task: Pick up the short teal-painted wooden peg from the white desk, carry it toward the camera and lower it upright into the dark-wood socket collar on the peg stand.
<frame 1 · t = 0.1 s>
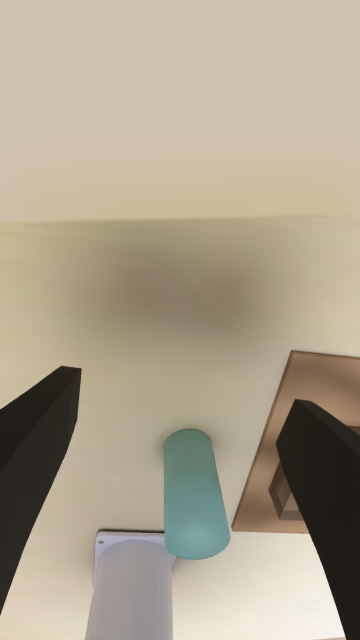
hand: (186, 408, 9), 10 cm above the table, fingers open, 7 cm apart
peg stand: (322, 456, 25), on the table
teal peg: (187, 447, 24), on the table
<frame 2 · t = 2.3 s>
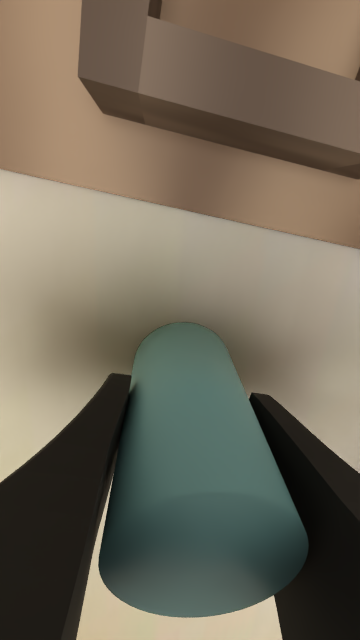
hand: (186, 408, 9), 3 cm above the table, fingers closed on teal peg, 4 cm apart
teal peg: (182, 366, 12), on the table, touching gripper
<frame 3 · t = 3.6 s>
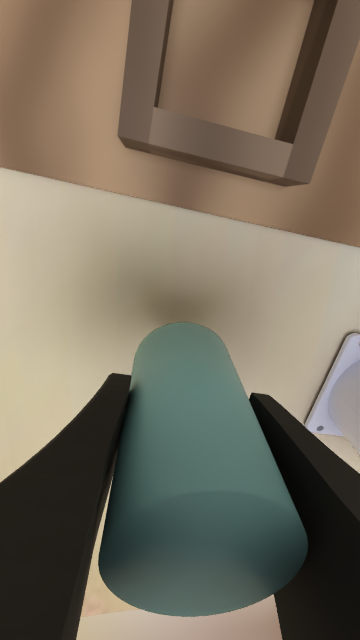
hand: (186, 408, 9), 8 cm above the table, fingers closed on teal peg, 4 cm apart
peg stand: (228, 69, 13), on the table
teal peg: (181, 365, 12), point 6 cm above the table, touching gripper
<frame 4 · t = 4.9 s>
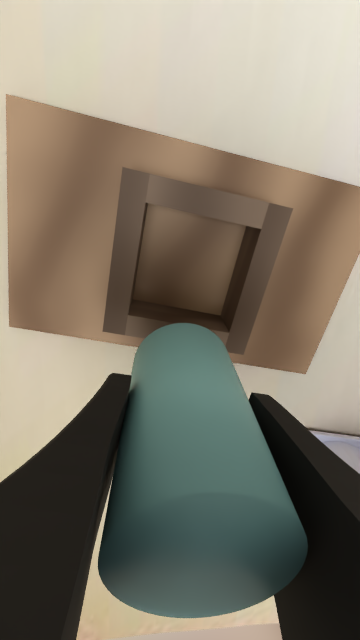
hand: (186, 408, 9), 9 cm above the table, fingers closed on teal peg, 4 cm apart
peg stand: (186, 262, 17), on the table
teal peg: (181, 366, 12), point 7 cm above the table, touching gripper
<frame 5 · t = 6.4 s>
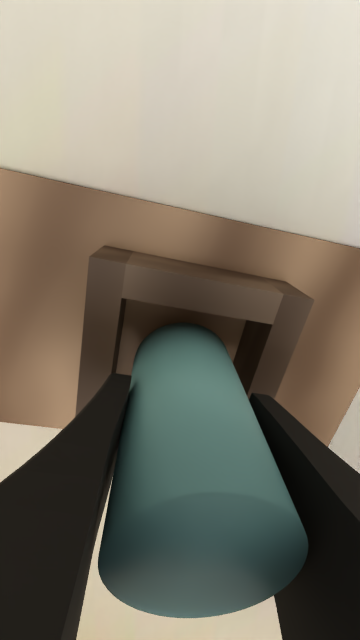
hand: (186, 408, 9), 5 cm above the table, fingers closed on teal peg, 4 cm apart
peg stand: (179, 341, 14), on the table
teal peg: (181, 366, 12), point 2 cm above the table, touching gripper
when the fingers open (4 cm above the table, at t = 7.5 s): teal peg stays where it is, resting on peg stand.
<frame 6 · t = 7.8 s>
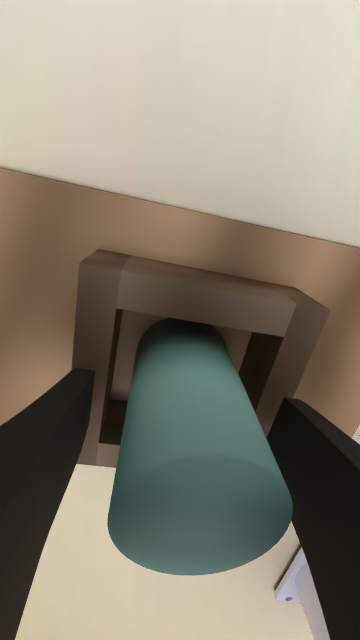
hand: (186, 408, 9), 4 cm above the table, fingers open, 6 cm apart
peg stand: (180, 352, 13), on the table
teal peg: (181, 357, 13), resting on peg stand
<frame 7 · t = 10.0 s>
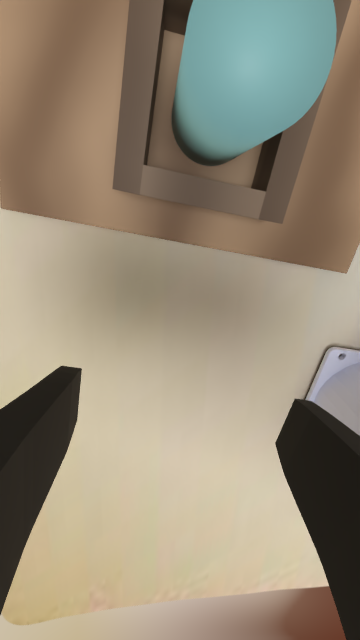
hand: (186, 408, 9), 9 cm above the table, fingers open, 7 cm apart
peg stand: (210, 121, 14), on the table
teal peg: (212, 119, 14), resting on peg stand
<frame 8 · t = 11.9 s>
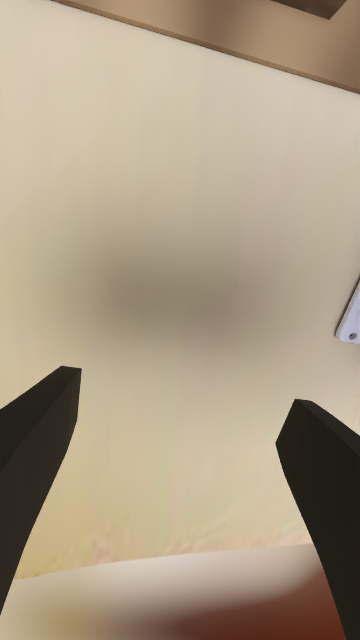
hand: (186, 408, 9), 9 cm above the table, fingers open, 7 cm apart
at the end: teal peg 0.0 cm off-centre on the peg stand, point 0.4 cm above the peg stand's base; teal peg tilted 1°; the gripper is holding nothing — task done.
